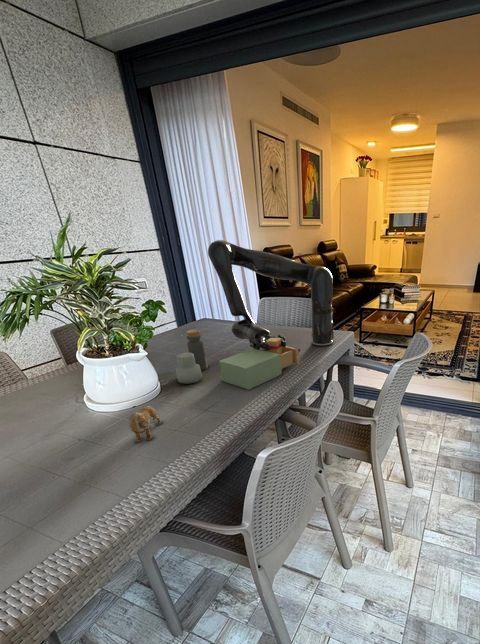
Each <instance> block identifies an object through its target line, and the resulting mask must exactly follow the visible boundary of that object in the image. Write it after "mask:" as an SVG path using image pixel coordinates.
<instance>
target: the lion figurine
mask: <svg viewBox="0 0 480 644" xmlns="http://www.w3.org/2000/svg"><path fill="white" fill-rule="evenodd" d="M151 418H152V421H155V420H156V425H158V426H159V425H161V424H162V421H161V418H160V416H158V415H157V412H156V410H155V408H154V407H152V406H150V405H147V406H144V407H142V408H141V410H140V412H135V413H133V414H132V415H131V416H129V419H128V423H129V428H130V431H131V432H133V433H134V434H135V436H136V438H137V439H136V442H137V443H141V442H142V440H143V438H142V436H141V435H142V434H144V433H145V435H146V439H147V440H148V441H151V440H152V439H153V436H152V435H151V432H150V431H151V430H150V427H149V425H150V422H151Z"/></svg>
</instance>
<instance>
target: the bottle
mask: <svg viewBox="0 0 480 644" xmlns="http://www.w3.org/2000/svg"><path fill="white" fill-rule="evenodd" d="M185 333H186V339H187V340H188V341H187V348H188V352H189V353H193V354H194V358H195V363H196V364H198V365H200V369H201V371H204V370H207V369H208V365H209V364H208V361H207V355H206V350H205V345H204V341H203V340H201V338H202V335H201V334H200V330H199V329H190V330H189V329H188V330H187V331H186V332H185Z"/></svg>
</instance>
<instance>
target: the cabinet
mask: <svg viewBox="0 0 480 644" xmlns="http://www.w3.org/2000/svg"><path fill="white" fill-rule="evenodd" d="M219 368H220V372H221V378H222V379H221V380H222V382H224V383H228V384H231V385H233V386H237V387H240V388H242V389H245V390H247V391H250V390H251V389H254V388H256V387H257V386H260V385H262V384H264V383H266V382H268V381H270V380H273V379H275V378H277V377H279V376H281V375H282V374H283V373H282V372H283V371H282V370H283V369H281V358H280V354H276V353H272V352H268V351H264V350H263V349H261V348H260V349H255V348H253V347H252V348H251V349H247V350H245V351H242V352H239V353H237V354H233V355H231V356H229V357H226V358H223V359H220V360H219Z"/></svg>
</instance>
